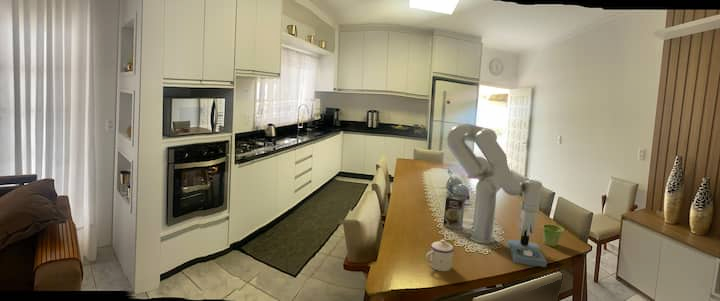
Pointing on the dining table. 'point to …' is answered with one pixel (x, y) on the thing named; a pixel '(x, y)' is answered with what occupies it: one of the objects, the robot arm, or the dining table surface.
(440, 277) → the dining table surface
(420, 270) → the dining table surface
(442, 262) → the teacup with lid
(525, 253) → the ball
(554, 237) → the plant pot
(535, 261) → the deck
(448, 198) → the coffee box
